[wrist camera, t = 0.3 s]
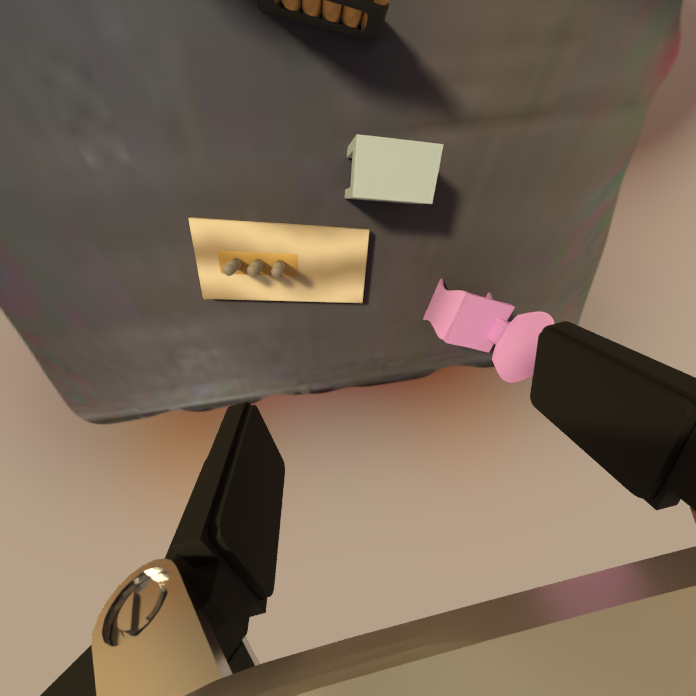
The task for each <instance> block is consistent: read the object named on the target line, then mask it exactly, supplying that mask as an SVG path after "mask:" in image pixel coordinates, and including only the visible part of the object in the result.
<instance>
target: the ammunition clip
mask: <svg viewBox="0 0 696 696" xmlns="http://www.w3.org/2000/svg"><path fill="white" fill-rule="evenodd" d="M389 1H390V0H367V1H366V0H258V2H259V7H260V10H261V11H262V12H264V13H268V14H272V15H275V16H279V17H283V18H286V19H290V20H294V21H297V22H301V23H304V24H308V25H312V26H315V27H319V28H323V29H326V30H330V31H333V32H337V33H341V34H344V35H348V36H352V37H355V38H359V39H363V40H366V41H370V42H373V43H377V42H378V38H379V35H380V32H381V29H382V26H383V23H384V20H385V17H386V13H387V10H388V6H389Z"/></svg>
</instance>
